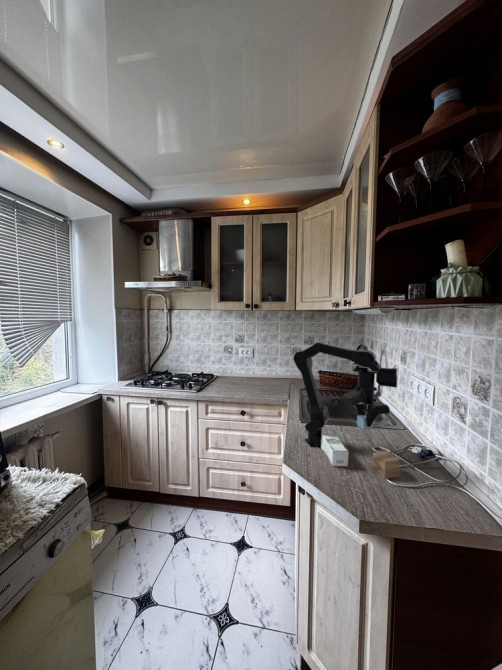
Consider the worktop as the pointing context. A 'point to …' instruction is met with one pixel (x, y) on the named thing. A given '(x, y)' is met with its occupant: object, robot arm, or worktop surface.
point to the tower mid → (386, 460)
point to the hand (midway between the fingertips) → (364, 424)
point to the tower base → (386, 471)
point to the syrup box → (334, 450)
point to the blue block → (363, 422)
